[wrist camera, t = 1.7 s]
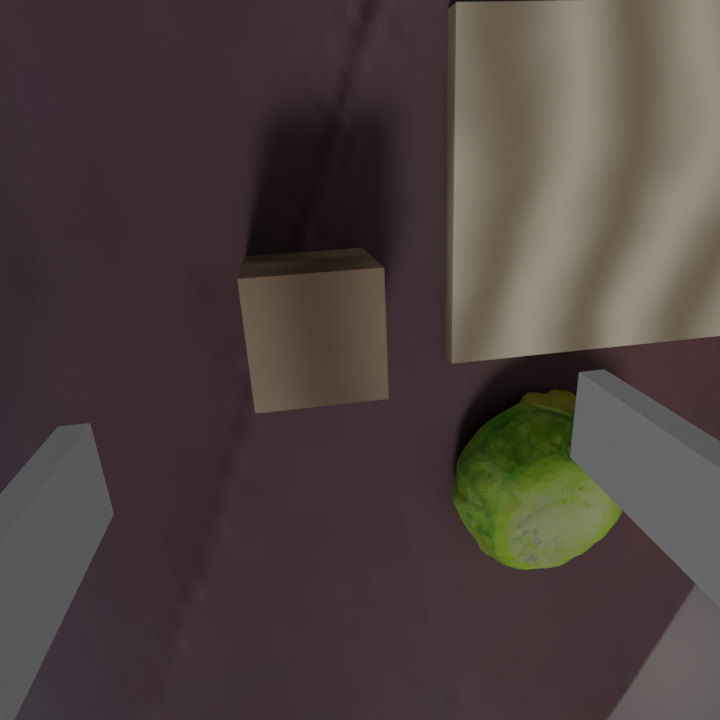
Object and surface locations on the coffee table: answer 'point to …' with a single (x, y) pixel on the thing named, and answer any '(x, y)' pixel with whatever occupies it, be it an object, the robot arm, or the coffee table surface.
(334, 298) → the walnut cube
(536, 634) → the coffee table surface
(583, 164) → the oak board
